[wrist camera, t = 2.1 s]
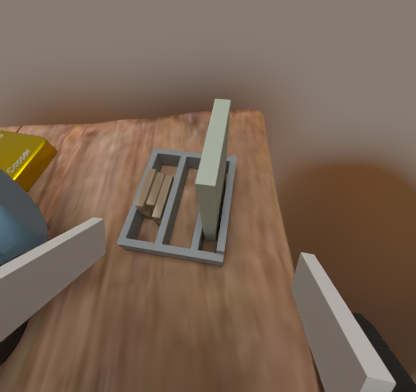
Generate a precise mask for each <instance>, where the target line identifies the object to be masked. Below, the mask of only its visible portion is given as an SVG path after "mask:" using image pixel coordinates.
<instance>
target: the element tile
mask: <svg viewBox="0 0 416 392" xmlns="http://www.w3.org/2000/svg"><path fill="white" fill-rule="evenodd" d="M56 153H57V150H56V149H55V148H54V147H53V146H52V145H51V144H50V143H49V142H48V141H47V140H46V139H44V138H43V137H38V136H33V135H27V134H21V133H15V132H9V131H4V130H2V131H0V169H2V170H3V171H4V172H5V173H7V174H8V175H9V176H10V177H11V178H12V179H14V180H15V181H16V182H17V183H18V184H19V185H20V186H21V187H22V188H23V189H24V191H25V192H26V193H27V192H28V191H29V189H30V188H31V187H32V186H33V184H34V183H35V182H36V180H37V179H38V178H39V176H40V175H41V174H42V173H43V171H44V170H45V169H46V167H47V166H48V165H49V163H50V162H51V161H52V159H53V158H54V157H55V155H56Z"/></svg>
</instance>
